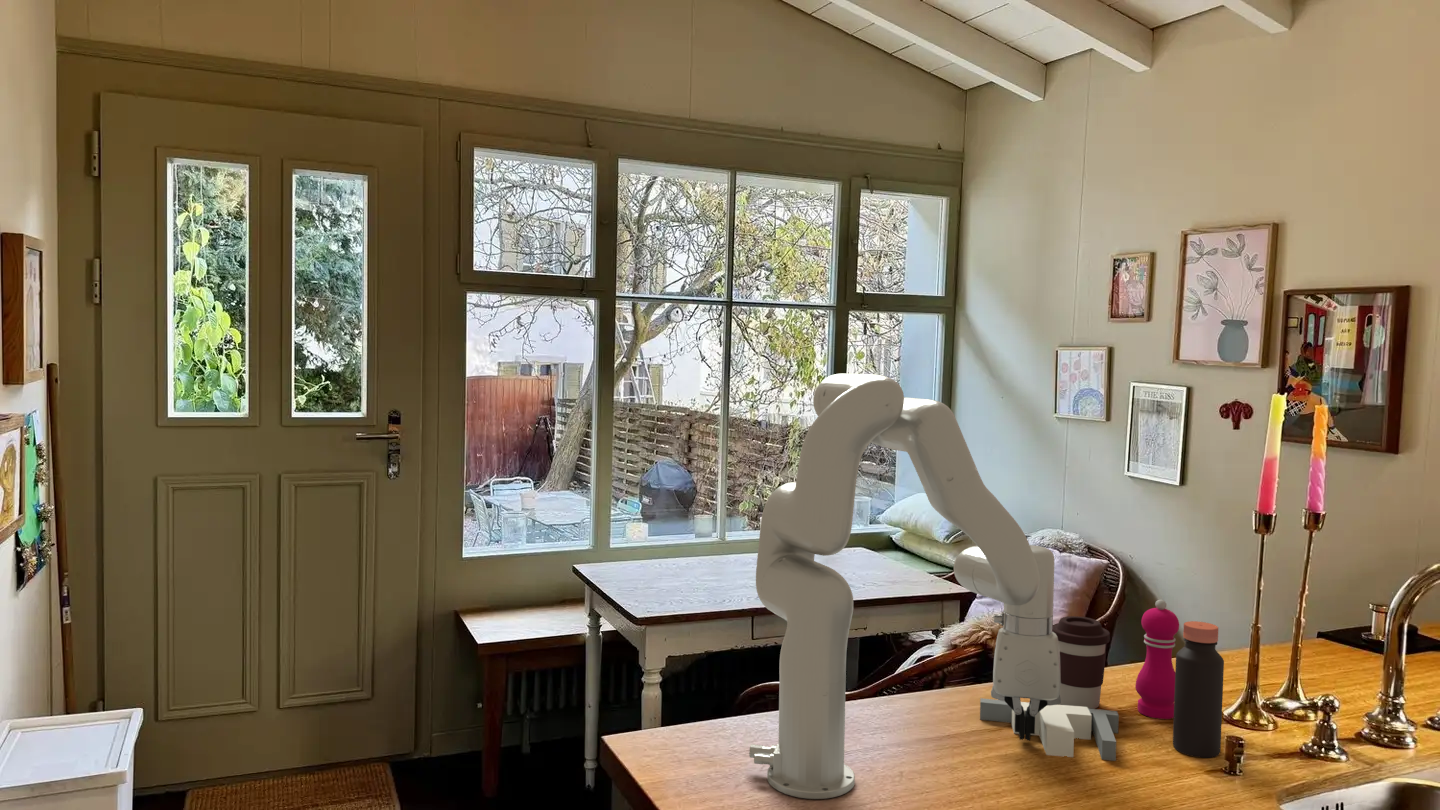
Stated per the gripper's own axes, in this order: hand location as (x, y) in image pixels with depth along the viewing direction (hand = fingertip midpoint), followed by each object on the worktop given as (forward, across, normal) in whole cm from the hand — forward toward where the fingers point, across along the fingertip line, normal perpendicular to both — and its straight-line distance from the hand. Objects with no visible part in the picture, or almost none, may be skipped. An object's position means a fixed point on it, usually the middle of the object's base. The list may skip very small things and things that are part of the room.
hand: (1024, 736), depth 157 cm
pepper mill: (+1, +23, +21) cm, 31 cm away
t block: (+1, +5, +2) cm, 5 cm away
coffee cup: (+1, +10, +22) cm, 24 cm away
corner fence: (+1, +4, +4) cm, 6 cm away
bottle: (+1, +26, +5) cm, 27 cm away
